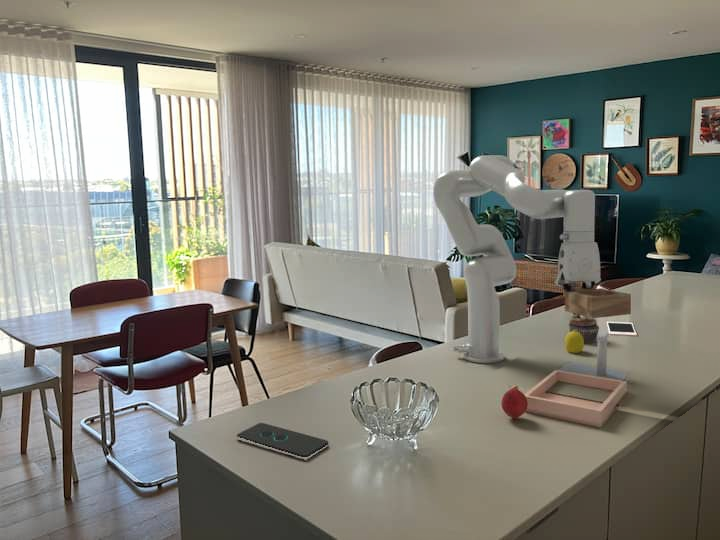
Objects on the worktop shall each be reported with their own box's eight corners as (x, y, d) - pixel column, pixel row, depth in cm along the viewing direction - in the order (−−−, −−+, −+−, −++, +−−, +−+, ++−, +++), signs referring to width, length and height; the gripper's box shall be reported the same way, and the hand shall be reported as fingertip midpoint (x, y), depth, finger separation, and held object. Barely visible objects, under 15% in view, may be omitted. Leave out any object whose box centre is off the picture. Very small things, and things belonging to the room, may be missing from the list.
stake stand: (630, 375, 164) (632, 332, 162) (618, 389, 153) (620, 343, 151) (568, 365, 174) (569, 324, 172) (553, 378, 163) (554, 334, 162)
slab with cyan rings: (260, 421, 137) (329, 440, 126) (261, 428, 137) (330, 447, 126) (234, 434, 130) (305, 455, 119) (235, 442, 131) (305, 463, 119)
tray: (600, 427, 130) (601, 411, 130) (522, 411, 141) (522, 395, 141) (626, 396, 149) (626, 381, 148) (555, 383, 159) (555, 369, 159)
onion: (513, 425, 133) (513, 391, 132) (496, 417, 138) (496, 384, 137) (532, 420, 136) (533, 387, 135) (515, 412, 141) (515, 379, 140)
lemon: (584, 358, 180) (585, 332, 179) (565, 357, 182) (566, 332, 180) (581, 353, 186) (582, 328, 185) (563, 352, 187) (564, 327, 186)
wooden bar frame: (630, 314, 145) (630, 294, 144) (591, 318, 142) (591, 297, 141) (589, 304, 160) (589, 286, 159) (553, 307, 157) (553, 289, 157)
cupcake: (590, 345, 194) (590, 315, 192) (563, 340, 201) (563, 311, 199) (604, 339, 200) (605, 311, 198) (577, 335, 207) (578, 307, 206)
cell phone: (609, 336, 206) (609, 333, 206) (606, 323, 223) (606, 321, 223) (636, 337, 203) (637, 334, 203) (632, 325, 220) (632, 322, 220)
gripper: (559, 240, 148) (558, 312, 150) (615, 237, 152) (613, 307, 154) (542, 238, 155) (542, 307, 158) (596, 235, 159) (595, 302, 162)
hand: (577, 306), depth 156 cm, fingers closed on wooden bar frame, 3 cm apart
